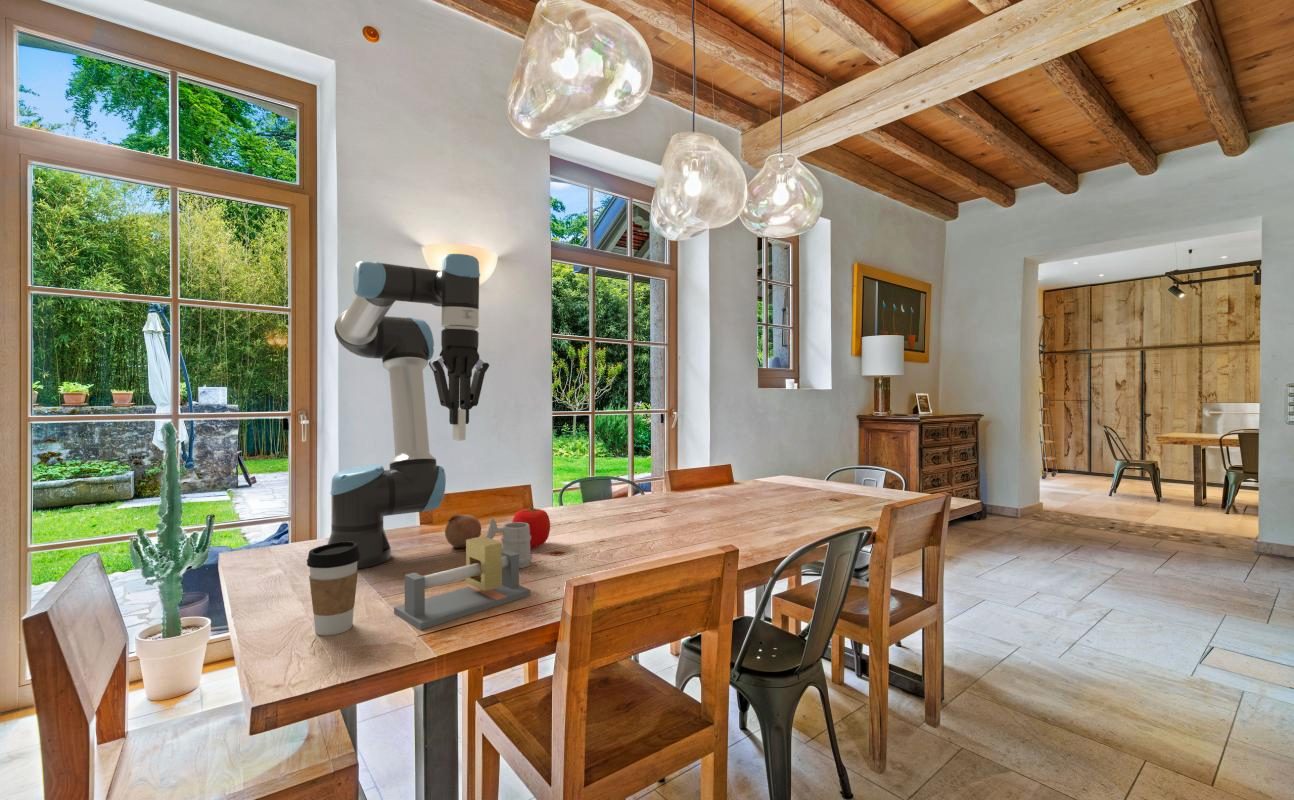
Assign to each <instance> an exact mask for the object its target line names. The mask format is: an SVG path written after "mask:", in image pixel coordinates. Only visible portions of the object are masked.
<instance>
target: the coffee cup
mask: <svg viewBox="0 0 1294 800" xmlns="http://www.w3.org/2000/svg"><path fill="white" fill-rule="evenodd" d="M359 556H360V553H359V549H358V543H357V542H354V541H341V542H336V543H331V544H328V543H326V544H324V545H319V546H317V547H314V548H312V549H310V550H309V552H308V557H307V559H306V566H307V567H309V573H310V575H309V579H308V580H309V586H310V588H309V589H310V595H311V596H310V597H311V604H312V605H311V606H312V613H313V619H314V623H313V624H314V632H315V634H316V635H319V636H322V637H323V636H327V637H329V636H334V635H339V634H342V633H345V632H347V631H349V630H351V628H353V624H354V623H353V622H354V610H355V602H356V601H355V600H356V593H357V592H356V591H357V583H358V574H359V573H358V571H359V570H358V569H359V568H358V569H357V561H358V560H359V559H360V557H359Z"/></svg>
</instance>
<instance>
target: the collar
mask: <svg viewBox="0 0 1294 800" xmlns="http://www.w3.org/2000/svg"><path fill="white" fill-rule="evenodd" d="M502 543H503V542H502V541H500V540H496V539H494V538H492V539H490V538H487V537H486V536H484V535H480V536H479V537H476V538H471V539H467V540H466V547H465V566H467V565H471V564H475V563H479V562H480V561H481V574H480V575H476V576H472V577H469V578H465V583H466V584H468V585H469V586H471V585H472V586H474V587H476V588H478V589H481V590H483V591H488V590H491V589H494V588H498V587H501V586H502Z"/></svg>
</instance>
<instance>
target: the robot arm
mask: <svg viewBox="0 0 1294 800" xmlns="http://www.w3.org/2000/svg"><path fill="white" fill-rule="evenodd" d="M480 276H481V273H480V262H479V259H477V257H475V256H473V255H470V254H465V253H448V254H445V255H443V257H442V260H441V266H440V270H437V269H431V268H430V269H429V268H422V267H413V266H407V265H399V264H390V263H385V262H384V263H383V262H379V261H364V260H361V261H358V262H356V264H355V266H354V271H353V276H352V277H353V278H352V279H353V283H352V284H353V291H354V293H355V295H354V297H353V299H352V300H351V302H350V304H349V306H348V308H347V309H346V310H344V311H342V312H341V313H340V314H339V315H338V316H337V318H336V321H335V322H334V326H333V327H334V334H335V337H336V339H337V341H338V343H339V344H340V345H341V346H342V347H343V348H345V349H346V350H347V351H348V352H350V353H352V354H354V355H356V356H359V357H362V358H367V359H381V362H382V367H383V368H384V369H386V370H387V372H388V373H389V374H388V375H389V387H390V400H391V402H390V403H391V415H392V418H391V419H392V430H393V443H394V444H393V445H394V447H393V448H394V458H393V459H392V460H391V461H390V462H389V469H385V468H384V466H383V465H380V464H372V465H361V466H356V467H350V468H346V469H343V470H340V471H339V472H337V473H335V474H334V475H333V476H332V478H331V487H330V493H329V494H330V495H331V497H330V498H331V502H330V503H331V530H330V531H331V532H330V536H329V538H328V541H327V544H331V543H336V542H341V541H354V542H357V543H358V549H359V553H360V556H359V557H360V559H359V560H358V561H357V569H365V568H370V567H373V566H378V565H380V564H384V563H386V562H387V561H389V560H390V559H391V558H392V556H391V555H392V549H391V548H392V547H391V545H390V542H389V539H388V536H387V533H386V531H385V529H384V517H388V516H395V515H404V514H405V515H406V514H412V513H413V514H415V513H423V512H427V511H434V510H435V509H437V508H439V507H440V505H441V504H442V502H443V500H444V499H443V498H444V496H445V493H446V484H447V483H446V482H447V481H446V480H447V479H446V477H447V476H446V473H445V468H444V467H443V466H440V465H437V458H436V457H434V456H433V455H432V454H431V453H430V443H429V431H428V419H427V418H428V417H427V407H426V396H425V395H426V394H425V383H424V372H423V371H424V369H425V368H426V367H427V366H429V367H430V369H431V370H432V372H433V376H434V381H435V387H436V389H437V394H438V399H439V404H440V405H441V406H442V407H445V408H447V409H448V410H449V415H448V416H449V418H448V419H449V424H450V425H452V440H455V441H466V429H467V428H466V425H468V424H469V423H470V410H471V409H472V408H473V407H477V406H478V405H479V401H480V396H481V392H482V387H483V383H484V378H485V376H486V375H485V374H486V373H487V370H488V369H489V367H490V364H489V363H488V362H484V361H483V360H482V359H481V358H480V354H479V352H478V351H479V350H478V348H479V335H480V333H479V332H478V330H477V329H478V328H479V322H480V321H479V319H480V318H479V317H480V316H479V314H480V313H479V311H480V309H479V308H480ZM397 301H398V302H405V303H406V302H407V303H409V302H410V303H417V304H418V303H419V304H429V305H430V304H431V305H432V306H434V307H435V306H436V307H441V327H442V328H443V329H442V330H441V332H440V333H441V334H440V336H441V337H440V338H441V339H440V340H441V341H440V343H441V344H440V345H441V351H440V352H439V357H436V359H434V360H431V359H433V356H434V353H435V349H434V347H435V341H434V336H433V331H432V329H431V327H430V325H429V324H428V323H427V322H426V321H425V320H424V319H420V318H413V317H400V316H399V317H398V316H387V314H388V312H389V310H390V309H391V307H392V306H393V304H394V303H395V302H397ZM429 360H430V361H429ZM428 361H429V362H428ZM444 367H445V368H446V369H447V377H448V381H447V377H446V374H445V369H444ZM473 369H475V370H474V373H473ZM471 378H472V380H471Z"/></svg>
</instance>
